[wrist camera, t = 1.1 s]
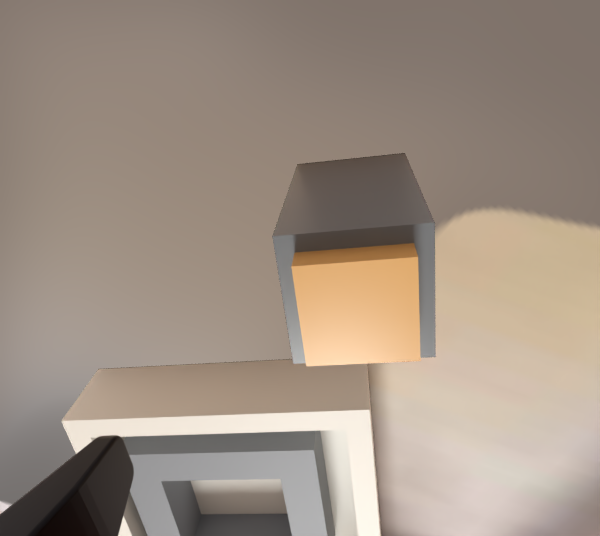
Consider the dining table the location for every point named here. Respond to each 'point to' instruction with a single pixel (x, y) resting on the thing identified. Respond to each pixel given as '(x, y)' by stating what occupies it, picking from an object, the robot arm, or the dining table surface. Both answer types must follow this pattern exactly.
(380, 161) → the plug
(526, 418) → the dining table surface
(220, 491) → the box
